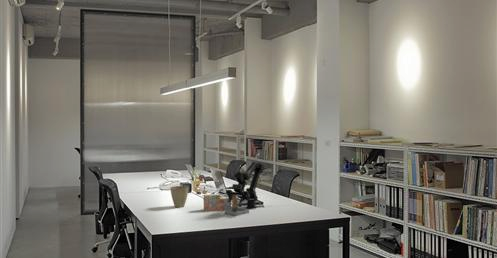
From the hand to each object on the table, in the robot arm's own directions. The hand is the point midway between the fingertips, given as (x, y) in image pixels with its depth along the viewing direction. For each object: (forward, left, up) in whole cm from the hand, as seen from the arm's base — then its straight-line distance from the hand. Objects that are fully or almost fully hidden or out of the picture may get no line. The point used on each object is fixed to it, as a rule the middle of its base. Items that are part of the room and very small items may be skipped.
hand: (234, 202), depth 363 cm
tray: (-4, -1, -9) cm, 10 cm away
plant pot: (+9, -55, -9) cm, 56 cm away
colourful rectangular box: (-4, -23, -9) cm, 25 cm away
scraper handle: (-1, 0, -8) cm, 8 cm away
